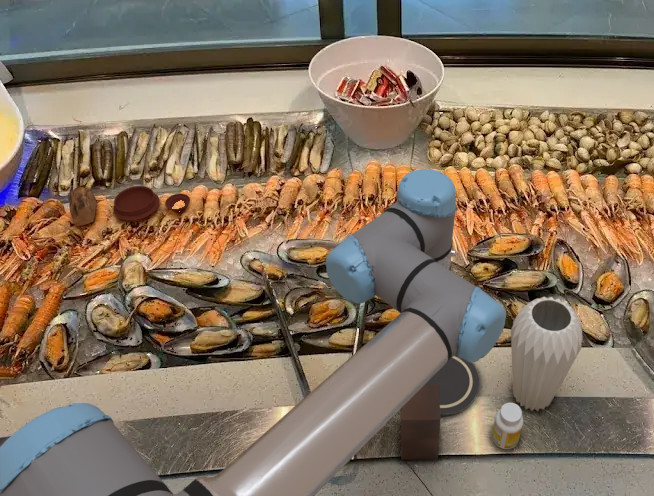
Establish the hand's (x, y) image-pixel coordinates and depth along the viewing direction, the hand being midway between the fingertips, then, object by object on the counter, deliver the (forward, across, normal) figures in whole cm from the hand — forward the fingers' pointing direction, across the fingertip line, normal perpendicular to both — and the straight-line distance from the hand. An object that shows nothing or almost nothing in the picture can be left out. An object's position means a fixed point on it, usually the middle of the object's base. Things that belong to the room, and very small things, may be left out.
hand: (421, 359), depth 110 cm
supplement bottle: (+28, +3, -17) cm, 33 cm away
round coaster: (+28, +14, -4) cm, 32 cm away
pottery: (+28, +59, +76) cm, 100 cm away
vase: (+28, +13, -23) cm, 39 cm away
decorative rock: (+28, +55, +92) cm, 111 cm away
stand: (+28, 0, 0) cm, 28 cm away
